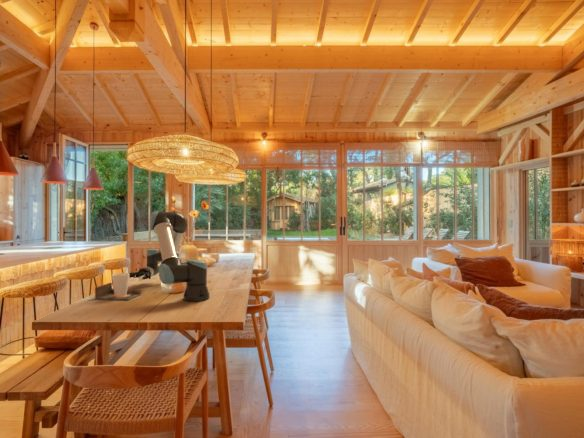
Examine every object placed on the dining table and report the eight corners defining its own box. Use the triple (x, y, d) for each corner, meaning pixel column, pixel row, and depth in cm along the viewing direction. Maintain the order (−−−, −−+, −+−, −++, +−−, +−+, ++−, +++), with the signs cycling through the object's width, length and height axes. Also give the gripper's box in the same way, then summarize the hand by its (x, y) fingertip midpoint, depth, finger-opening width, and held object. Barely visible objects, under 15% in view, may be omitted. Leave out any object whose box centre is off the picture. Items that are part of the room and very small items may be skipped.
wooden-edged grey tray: (141, 294, 206) (141, 283, 206) (128, 300, 192) (128, 288, 191) (109, 293, 207) (109, 282, 207) (95, 299, 193) (95, 287, 192)
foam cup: (124, 293, 206) (124, 272, 205) (132, 295, 200) (132, 274, 200) (108, 296, 198) (108, 274, 198) (116, 298, 193) (116, 276, 192)
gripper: (163, 278, 229) (148, 285, 208) (128, 277, 230) (109, 284, 209) (163, 267, 229) (148, 273, 208) (128, 267, 230) (110, 272, 209)
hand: (129, 278), depth 208 cm, fingers open, 13 cm apart
